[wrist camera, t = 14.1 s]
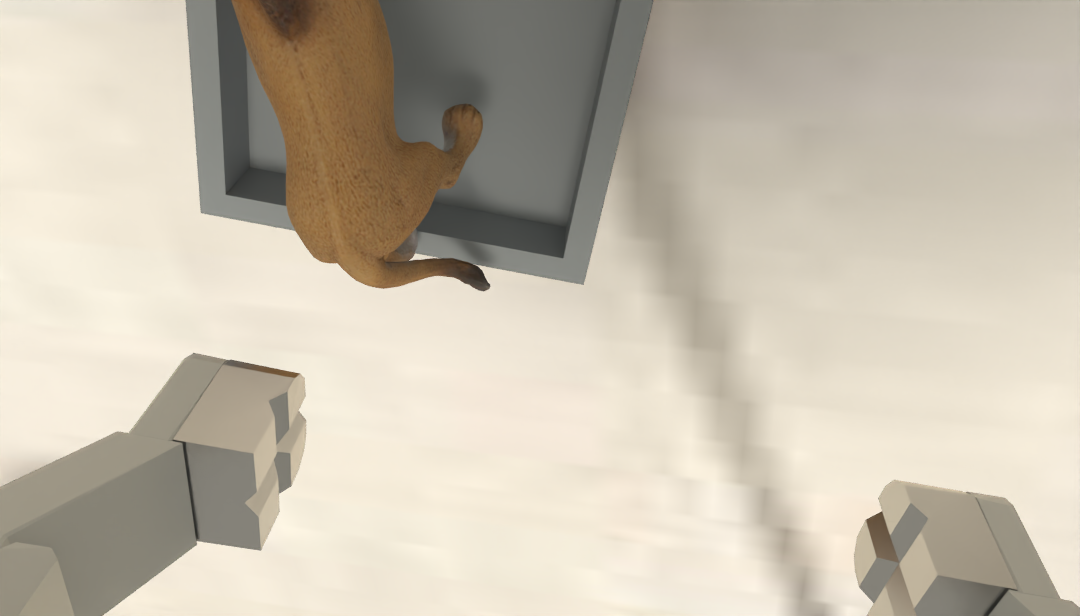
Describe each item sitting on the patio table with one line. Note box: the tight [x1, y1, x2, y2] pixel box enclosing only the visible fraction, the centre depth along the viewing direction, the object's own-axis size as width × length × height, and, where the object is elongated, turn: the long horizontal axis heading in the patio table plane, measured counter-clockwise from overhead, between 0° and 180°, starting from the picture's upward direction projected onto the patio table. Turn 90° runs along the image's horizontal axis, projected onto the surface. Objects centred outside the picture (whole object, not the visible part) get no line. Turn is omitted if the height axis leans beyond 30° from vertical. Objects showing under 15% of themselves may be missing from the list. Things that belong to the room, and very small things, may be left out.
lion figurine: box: [231, 0, 490, 291], centre depth 19 cm, size 15×5×9 cm, turn 26°
